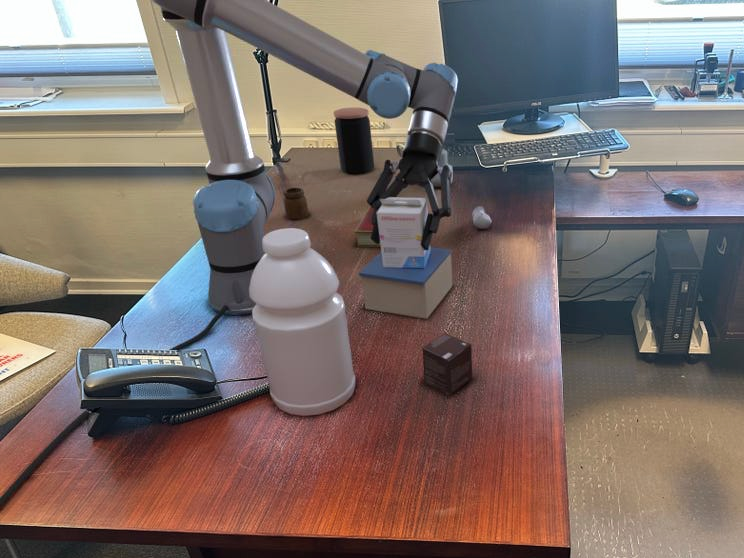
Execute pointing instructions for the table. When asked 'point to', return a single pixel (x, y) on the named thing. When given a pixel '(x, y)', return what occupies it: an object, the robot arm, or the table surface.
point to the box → (447, 363)
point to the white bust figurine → (481, 218)
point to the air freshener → (443, 161)
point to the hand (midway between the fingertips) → (399, 244)
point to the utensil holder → (295, 202)
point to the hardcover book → (366, 230)
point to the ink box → (402, 232)
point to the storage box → (408, 293)
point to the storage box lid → (406, 269)
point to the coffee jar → (354, 140)
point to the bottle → (301, 326)
